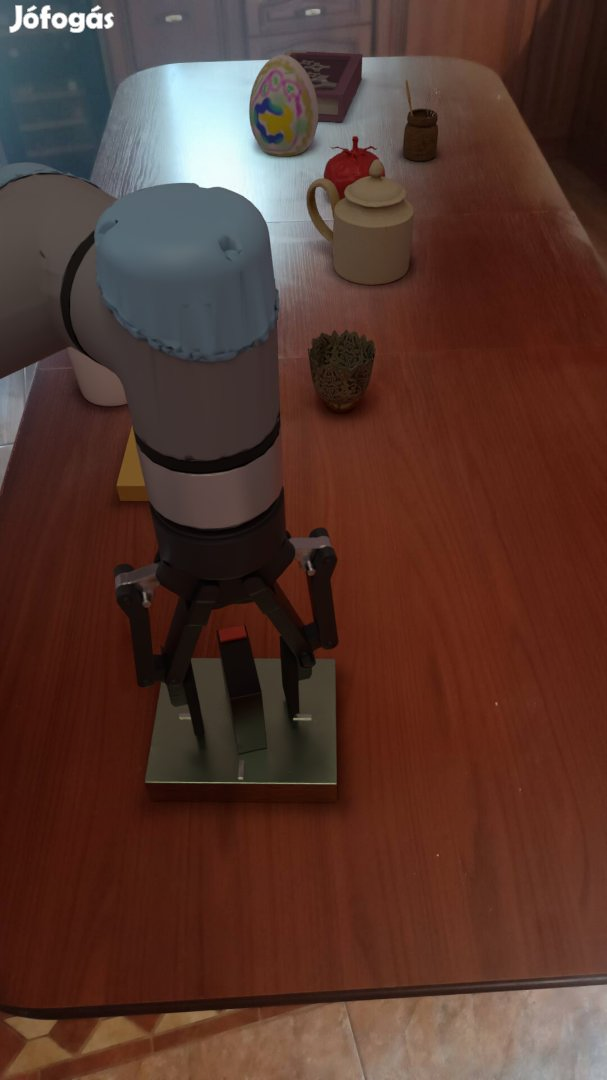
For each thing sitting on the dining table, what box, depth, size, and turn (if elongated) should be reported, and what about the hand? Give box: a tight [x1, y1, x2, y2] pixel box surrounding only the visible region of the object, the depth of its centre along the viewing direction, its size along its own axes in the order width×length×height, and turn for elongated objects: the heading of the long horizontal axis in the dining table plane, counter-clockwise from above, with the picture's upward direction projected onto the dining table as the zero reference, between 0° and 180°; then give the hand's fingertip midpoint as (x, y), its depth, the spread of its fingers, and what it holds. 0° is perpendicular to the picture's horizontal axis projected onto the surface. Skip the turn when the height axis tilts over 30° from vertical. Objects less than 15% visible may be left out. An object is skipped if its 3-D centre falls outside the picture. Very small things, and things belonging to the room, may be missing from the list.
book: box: [283, 49, 363, 123], centre depth 162 cm, size 25×16×5 cm, turn 169°
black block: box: [215, 624, 267, 754], centre depth 59 cm, size 6×2×8 cm, turn 13°
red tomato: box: [323, 135, 386, 200], centre depth 128 cm, size 10×10×9 cm
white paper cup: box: [65, 347, 128, 407], centre depth 92 cm, size 10×10×12 cm
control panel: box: [144, 657, 338, 804], centre depth 63 cm, size 14×11×3 cm
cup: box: [307, 329, 377, 414], centre depth 90 cm, size 8×7×8 cm
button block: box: [115, 424, 149, 502], centre depth 85 cm, size 12×10×4 cm
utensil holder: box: [402, 79, 443, 162], centre depth 138 cm, size 6×6×12 cm
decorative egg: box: [248, 54, 319, 157], centre depth 141 cm, size 12×12×15 cm
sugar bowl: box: [305, 159, 415, 286], centre depth 110 cm, size 15×11×15 cm
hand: (244, 709), depth 61 cm, fingers open, 6 cm apart
